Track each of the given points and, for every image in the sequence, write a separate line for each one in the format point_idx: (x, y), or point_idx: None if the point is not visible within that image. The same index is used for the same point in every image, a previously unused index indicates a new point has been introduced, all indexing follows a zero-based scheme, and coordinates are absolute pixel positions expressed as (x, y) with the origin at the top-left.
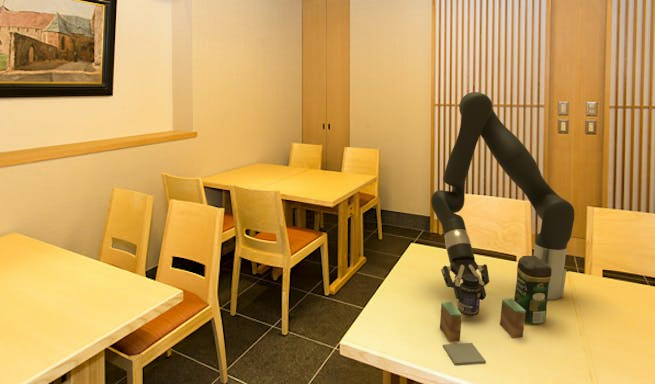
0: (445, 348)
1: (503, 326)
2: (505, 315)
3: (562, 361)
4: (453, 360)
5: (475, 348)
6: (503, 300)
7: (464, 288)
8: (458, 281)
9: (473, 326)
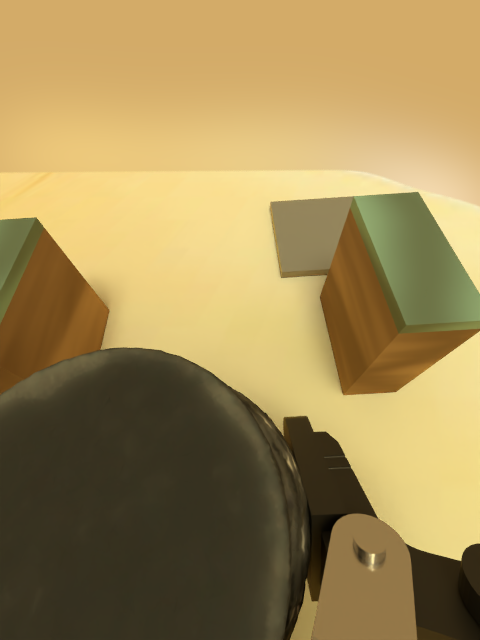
0: None
1: None
2: (55, 338)
3: (56, 213)
4: None
5: (280, 246)
6: None
7: (271, 429)
8: (354, 612)
9: None
